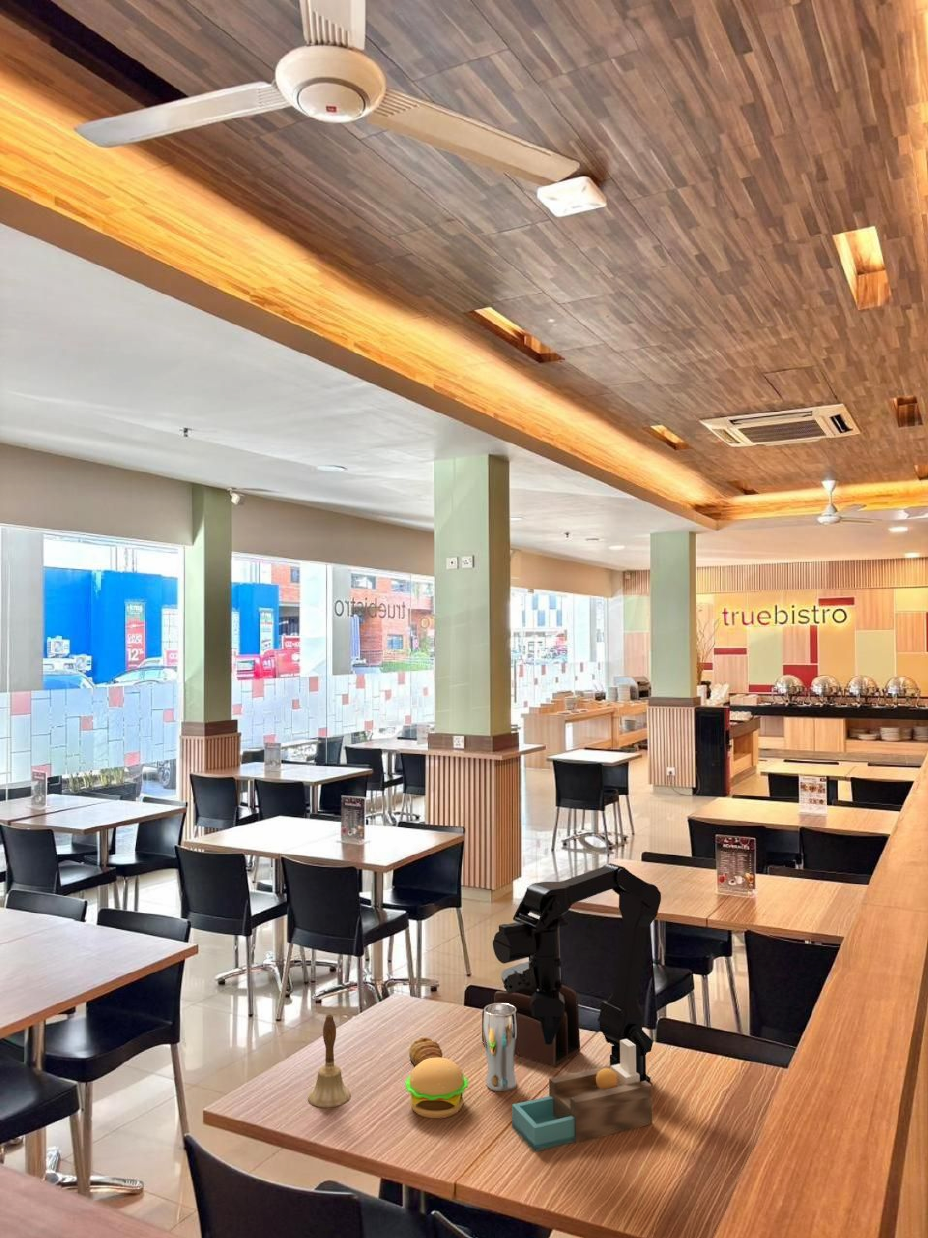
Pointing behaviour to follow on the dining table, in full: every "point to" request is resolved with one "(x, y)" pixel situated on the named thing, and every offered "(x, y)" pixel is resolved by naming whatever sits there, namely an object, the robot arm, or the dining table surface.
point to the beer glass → (500, 1045)
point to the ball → (606, 1079)
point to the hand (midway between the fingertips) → (547, 1033)
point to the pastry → (424, 1050)
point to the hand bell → (329, 1074)
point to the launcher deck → (600, 1104)
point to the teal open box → (542, 1124)
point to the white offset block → (626, 1064)
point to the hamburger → (436, 1088)
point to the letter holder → (531, 1030)
